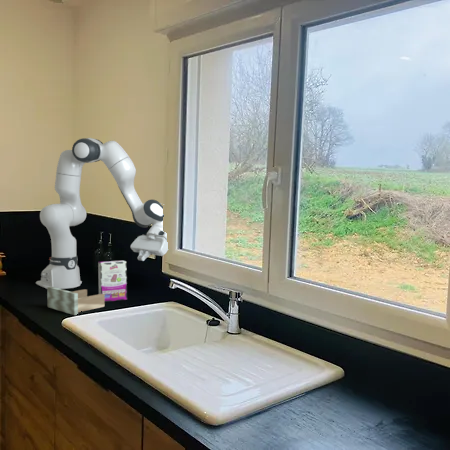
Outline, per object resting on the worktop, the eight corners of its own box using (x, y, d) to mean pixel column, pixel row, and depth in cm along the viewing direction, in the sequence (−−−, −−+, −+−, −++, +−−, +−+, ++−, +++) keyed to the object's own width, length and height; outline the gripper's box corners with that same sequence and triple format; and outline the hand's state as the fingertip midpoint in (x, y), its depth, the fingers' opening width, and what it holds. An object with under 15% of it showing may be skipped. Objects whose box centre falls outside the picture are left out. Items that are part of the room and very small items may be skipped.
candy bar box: (123, 297, 220) (123, 259, 219) (127, 300, 216) (127, 261, 214) (97, 299, 215) (97, 261, 214) (100, 302, 211) (100, 263, 209)
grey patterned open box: (47, 306, 202) (47, 287, 201) (81, 300, 214) (81, 281, 213) (74, 315, 190) (74, 294, 190) (108, 307, 203) (108, 287, 202)
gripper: (137, 230, 237) (121, 252, 230) (168, 233, 224) (152, 257, 218) (144, 238, 241) (128, 261, 234) (175, 242, 228) (159, 266, 222)
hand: (140, 259), depth 226 cm, fingers closed
